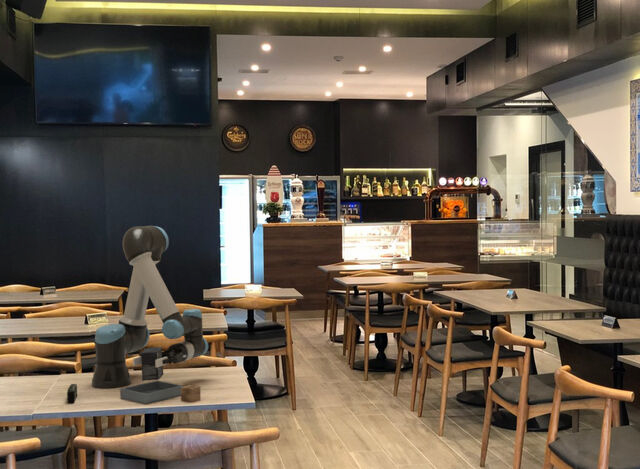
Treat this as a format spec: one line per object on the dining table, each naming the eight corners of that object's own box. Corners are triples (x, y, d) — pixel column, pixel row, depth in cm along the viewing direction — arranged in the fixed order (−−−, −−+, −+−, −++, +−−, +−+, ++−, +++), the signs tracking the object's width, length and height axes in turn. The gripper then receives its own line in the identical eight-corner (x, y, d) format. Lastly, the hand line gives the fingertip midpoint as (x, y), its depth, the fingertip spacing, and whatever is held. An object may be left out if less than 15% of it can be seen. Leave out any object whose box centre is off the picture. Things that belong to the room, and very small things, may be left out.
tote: (120, 398, 284) (120, 388, 284) (157, 389, 297) (157, 380, 297) (146, 404, 274) (146, 394, 274) (183, 395, 287) (183, 385, 287)
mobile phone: (75, 390, 277) (77, 381, 292) (66, 391, 277) (69, 381, 291) (75, 404, 278) (77, 394, 292) (66, 405, 277) (69, 394, 291)
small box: (146, 375, 290) (145, 347, 290) (163, 374, 291) (162, 346, 291) (141, 380, 280) (139, 352, 280) (159, 379, 280) (157, 351, 280)
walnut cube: (181, 401, 278) (180, 387, 278) (189, 398, 283) (189, 384, 282) (191, 402, 276) (191, 389, 276) (200, 399, 280) (200, 386, 280)
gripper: (204, 363, 297) (170, 374, 276) (157, 360, 306) (121, 371, 286) (203, 343, 297) (169, 354, 276) (156, 341, 306) (120, 351, 285)
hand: (144, 362), depth 281 cm, fingers closed on small box, 9 cm apart
